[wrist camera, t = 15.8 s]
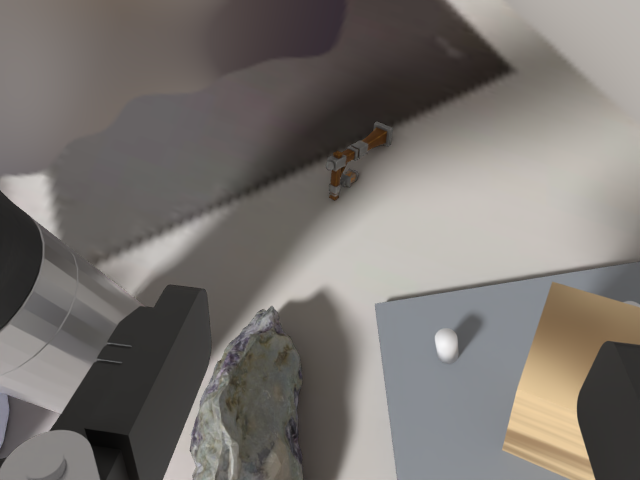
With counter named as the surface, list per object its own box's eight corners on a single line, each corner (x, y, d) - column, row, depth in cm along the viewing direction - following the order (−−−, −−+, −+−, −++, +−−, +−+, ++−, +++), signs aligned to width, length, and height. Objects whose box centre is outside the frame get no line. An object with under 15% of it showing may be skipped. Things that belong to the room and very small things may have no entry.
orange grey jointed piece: (317, 199, 47) (319, 154, 44) (371, 162, 52) (376, 119, 49) (333, 208, 46) (336, 162, 43) (387, 169, 51) (393, 126, 48)
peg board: (419, 635, 31) (412, 645, 27) (377, 311, 42) (368, 286, 38) (814, 613, 28) (868, 621, 24) (661, 267, 38) (681, 234, 34)
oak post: (589, 487, 31) (658, 442, 20) (501, 450, 33) (516, 388, 22) (610, 406, 33) (684, 320, 22) (526, 375, 35) (552, 281, 24)
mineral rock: (267, 316, 44) (219, 257, 35) (386, 378, 39) (363, 327, 31) (170, 467, 39) (89, 441, 31) (291, 557, 35) (233, 555, 26)
